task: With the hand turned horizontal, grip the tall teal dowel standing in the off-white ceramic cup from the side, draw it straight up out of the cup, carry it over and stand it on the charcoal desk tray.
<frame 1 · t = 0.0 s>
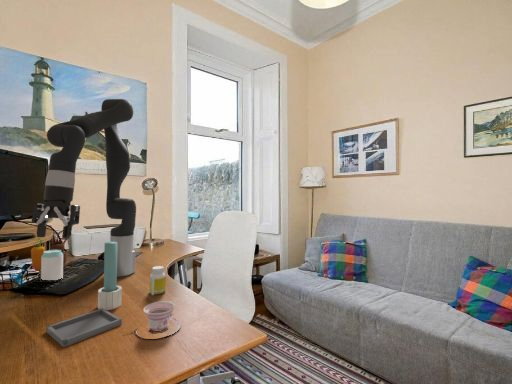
hand: (53, 237, 86), 22 cm above the table, tool pointing down, fingers open, 8 cm apart
can: (52, 281, 111), on the table
wooden figurine: (57, 268, 128), on the table
teacup: (158, 329, 76), on the table
dowel: (109, 305, 88), point 1 cm above the table, touching cup
tray: (85, 330, 74), on the table
supplement bottle: (157, 295, 100), on the table
carrot: (38, 273, 120), on the table
cup: (109, 307, 88), on the table
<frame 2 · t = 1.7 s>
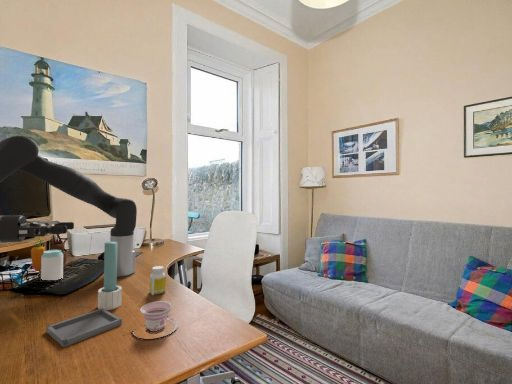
hand: (70, 227, 84), 26 cm above the table, tool horizontal, fingers open, 8 cm apart
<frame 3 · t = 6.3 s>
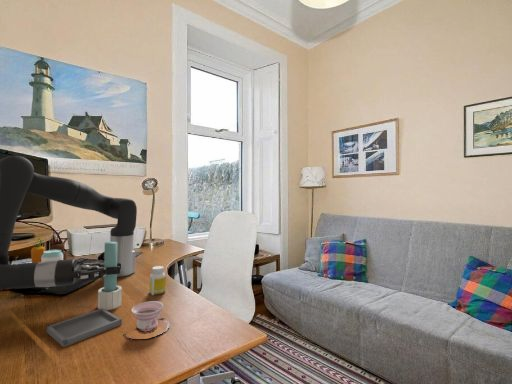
hand: (120, 268, 89), 12 cm above the table, tool horizontal, fingers closed on dowel, 3 cm apart
teacup: (147, 329, 76), on the table
dowel: (109, 305, 88), point 1 cm above the table, touching cup, gripper
everything else where it was.
when the fingers open (14 cm above the table, at t = 11.2 s): dowel stays where it is, resting on tray.
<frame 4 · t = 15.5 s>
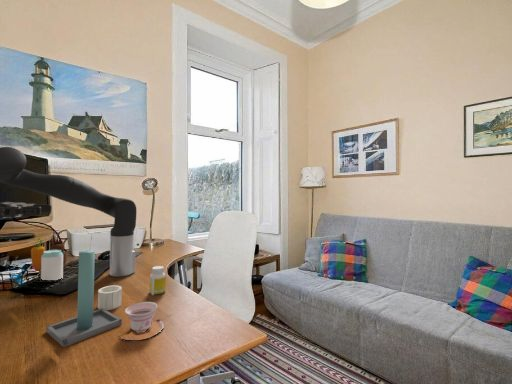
hand: (46, 209, 76), 32 cm above the table, tool horizontal, fingers open, 8 cm apart
teacup: (141, 330, 76), on the table
dowel: (84, 326, 74), point 1 cm above the table, touching tray
everything else where it was.
at the end: dowel inside the target area on the tray (0.1 cm from its centre), point 1.2 cm above the tray's base; dowel tilted 1°; the gripper is holding nothing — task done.
